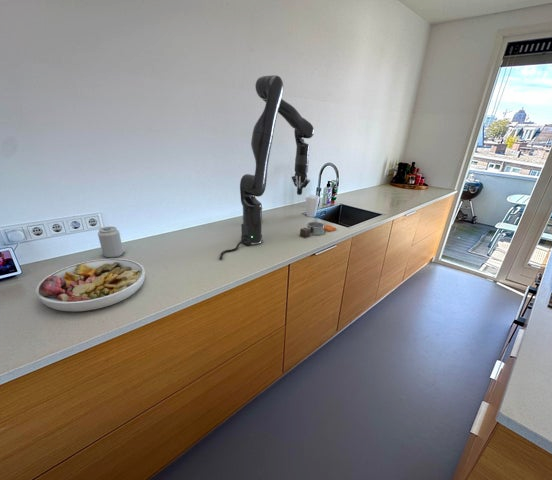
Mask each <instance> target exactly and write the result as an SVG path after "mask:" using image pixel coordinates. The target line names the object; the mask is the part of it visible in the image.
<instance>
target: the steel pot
mask: <svg viewBox="0 0 552 480" xmlns="http://www.w3.org/2000/svg"><path fill="white" fill-rule="evenodd" d="M325 225H326V224H324V223H323V222H320V221H310V222H307V226H306V228H308V229H311V231H310V235H312V236H321V235H324V234H325V230H324V229H325Z"/></svg>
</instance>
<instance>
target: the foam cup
mask: <svg viewBox="0 0 552 480" xmlns="http://www.w3.org/2000/svg"><path fill="white" fill-rule="evenodd" d="M320 197H321V196H319V195H317V194H306V195H305V212H306V213H305V214H306V216H307V217H310V218H314V217H316V216H317V211H318V207H319V203H320Z"/></svg>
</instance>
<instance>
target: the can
mask: <svg viewBox="0 0 552 480" xmlns="http://www.w3.org/2000/svg"><path fill="white" fill-rule="evenodd" d="M97 236H98V240H99V244H100V248H101V253H102V255H103V256H104V257H106V258H107V259H115V258H118V257H121V256H122V254H124V248H123V244H122V239H121V238H122V237H121V235H120V231H119V230H118V229H117V227H116V226H103V227H100V228H99V229H98V232H97Z"/></svg>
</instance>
